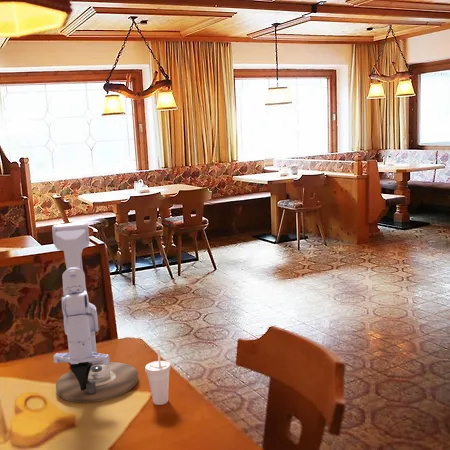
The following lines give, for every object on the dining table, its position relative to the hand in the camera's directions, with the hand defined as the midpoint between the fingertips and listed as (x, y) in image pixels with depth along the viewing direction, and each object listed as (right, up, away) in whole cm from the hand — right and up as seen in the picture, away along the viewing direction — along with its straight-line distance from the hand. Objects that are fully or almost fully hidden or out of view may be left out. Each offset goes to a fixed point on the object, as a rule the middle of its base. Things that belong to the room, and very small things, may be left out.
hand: (84, 388), depth 153 cm
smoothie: (+20, -3, -3) cm, 20 cm away
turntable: (+2, -1, +9) cm, 9 cm away
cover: (+2, +1, +9) cm, 9 cm away
